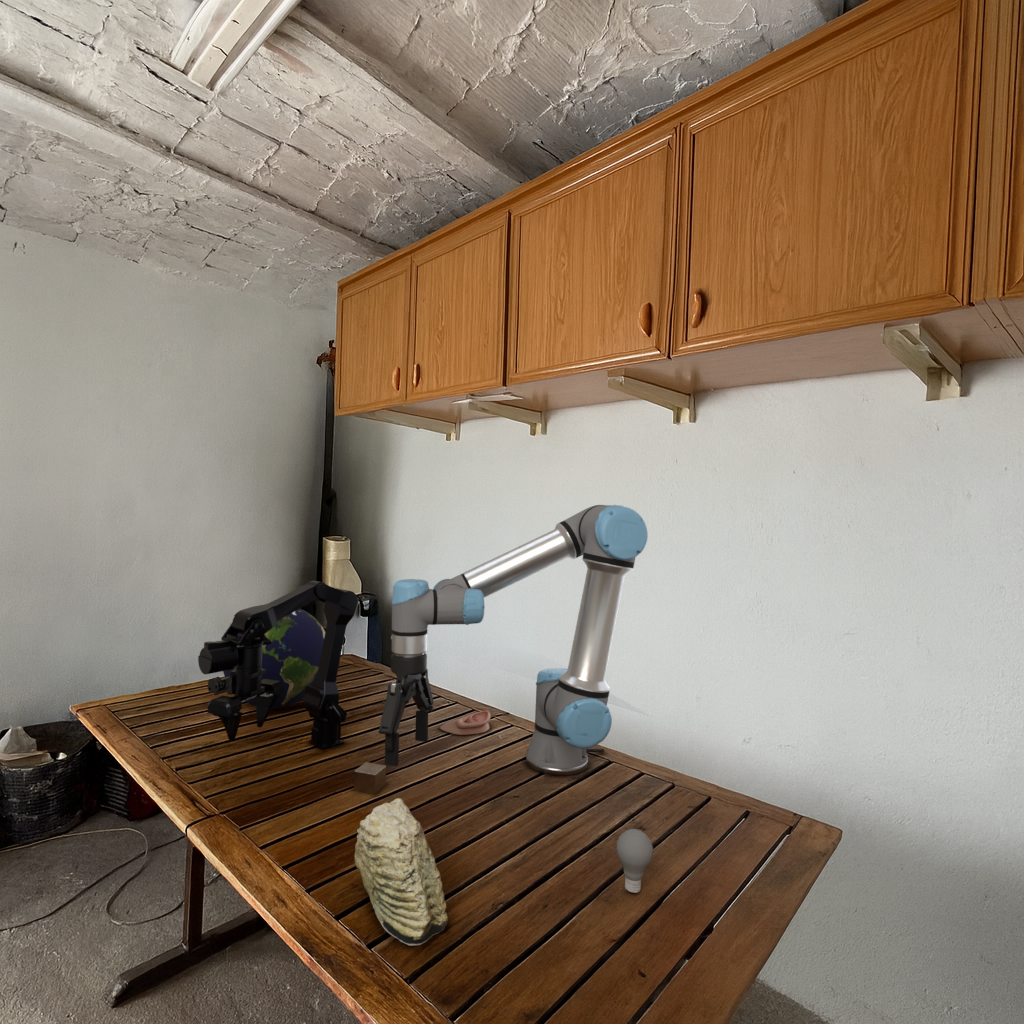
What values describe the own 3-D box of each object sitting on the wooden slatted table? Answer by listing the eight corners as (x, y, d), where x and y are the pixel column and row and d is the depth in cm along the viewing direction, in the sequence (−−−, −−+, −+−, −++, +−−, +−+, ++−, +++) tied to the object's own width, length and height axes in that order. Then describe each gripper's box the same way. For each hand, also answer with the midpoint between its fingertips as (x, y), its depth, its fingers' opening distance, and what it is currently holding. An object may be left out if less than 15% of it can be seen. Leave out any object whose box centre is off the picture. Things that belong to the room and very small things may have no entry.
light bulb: (610, 879, 108) (613, 822, 108) (644, 879, 109) (647, 822, 109) (619, 902, 102) (622, 840, 102) (655, 901, 103) (658, 840, 103)
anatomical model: (436, 717, 173) (449, 704, 184) (436, 732, 173) (448, 718, 184) (483, 723, 170) (493, 709, 181) (483, 738, 170) (493, 723, 181)
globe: (289, 685, 209) (292, 594, 208) (348, 705, 191) (352, 606, 191) (199, 706, 185) (203, 604, 184) (258, 732, 167) (262, 619, 167)
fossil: (387, 871, 108) (391, 784, 108) (458, 926, 95) (462, 827, 95) (340, 893, 102) (344, 800, 101) (410, 955, 89) (414, 849, 88)
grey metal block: (365, 780, 142) (365, 761, 142) (385, 784, 141) (386, 765, 141) (353, 790, 137) (354, 770, 137) (374, 794, 136) (375, 774, 136)
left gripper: (247, 652, 156) (244, 715, 156) (188, 671, 138) (185, 742, 138) (285, 658, 152) (283, 722, 153) (230, 678, 135) (227, 750, 135)
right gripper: (419, 639, 147) (417, 729, 148) (362, 665, 123) (360, 773, 124) (449, 642, 145) (447, 734, 145) (396, 669, 121) (394, 779, 122)
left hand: (246, 733), depth 145 cm, fingers open, 9 cm apart
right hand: (407, 752), depth 135 cm, fingers open, 13 cm apart
